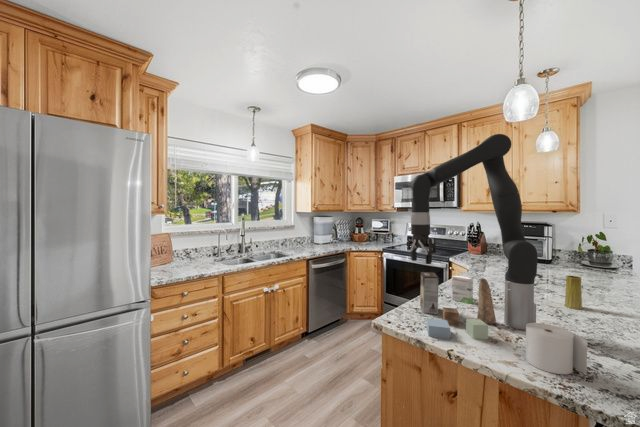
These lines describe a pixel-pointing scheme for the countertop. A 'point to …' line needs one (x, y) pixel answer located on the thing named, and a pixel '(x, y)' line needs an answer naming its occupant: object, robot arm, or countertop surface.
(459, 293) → the ink box
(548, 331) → the toilet tissue
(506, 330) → the countertop surface
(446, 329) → the base block
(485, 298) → the tan long rounded piece
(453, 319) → the walnut cube
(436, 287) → the coffee box
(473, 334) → the sage cube
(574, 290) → the vase
